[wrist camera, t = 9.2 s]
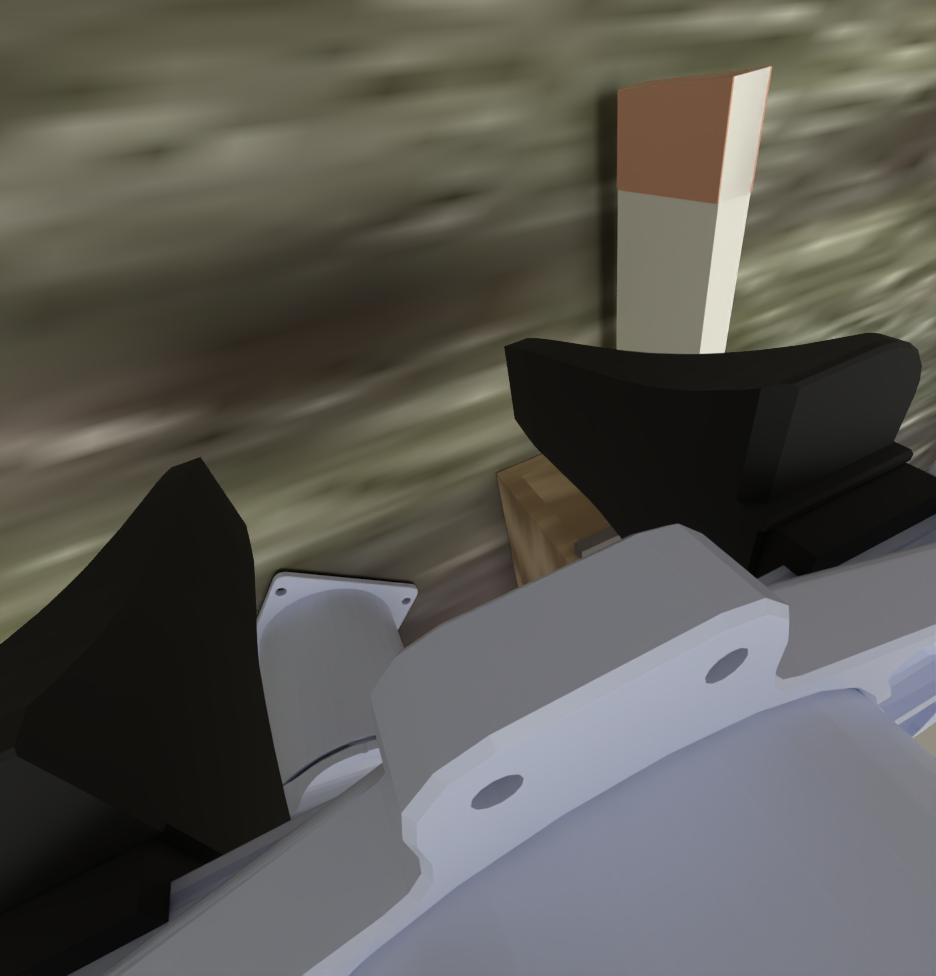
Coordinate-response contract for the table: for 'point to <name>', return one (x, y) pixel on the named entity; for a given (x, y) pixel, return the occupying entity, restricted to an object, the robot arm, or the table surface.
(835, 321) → the table surface
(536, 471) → the ticket box
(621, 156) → the ticket
